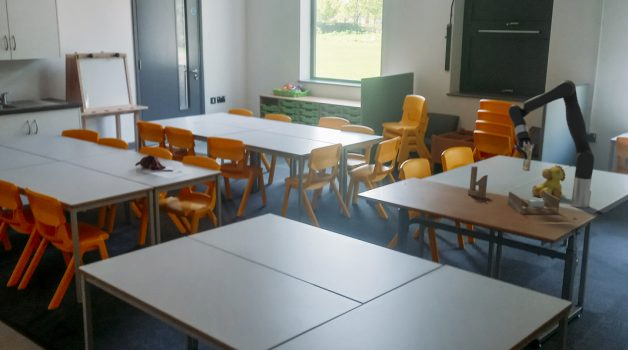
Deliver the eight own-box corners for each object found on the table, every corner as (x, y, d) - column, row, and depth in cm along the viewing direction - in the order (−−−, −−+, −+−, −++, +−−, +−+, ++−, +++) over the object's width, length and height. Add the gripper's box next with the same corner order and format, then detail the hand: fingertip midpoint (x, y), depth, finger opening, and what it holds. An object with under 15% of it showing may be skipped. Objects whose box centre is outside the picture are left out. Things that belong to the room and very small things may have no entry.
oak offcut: (541, 210, 373) (541, 205, 372) (543, 211, 370) (544, 206, 370) (527, 210, 372) (528, 205, 372) (529, 211, 369) (530, 206, 369)
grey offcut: (541, 205, 372) (542, 199, 372) (544, 206, 370) (544, 201, 369) (528, 205, 372) (528, 199, 371) (530, 206, 369) (530, 201, 368)
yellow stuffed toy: (524, 192, 418) (528, 163, 414) (556, 191, 425) (560, 162, 420) (544, 201, 399) (548, 170, 394) (577, 199, 406) (581, 168, 401)
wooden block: (482, 198, 400) (484, 169, 396) (467, 194, 408) (470, 166, 404) (485, 197, 402) (488, 168, 398) (471, 193, 410) (473, 165, 406)
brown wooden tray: (543, 206, 385) (545, 191, 383) (557, 215, 368) (559, 199, 366) (507, 206, 383) (509, 191, 381) (520, 215, 366) (521, 199, 363)
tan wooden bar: (526, 169, 386) (529, 144, 382) (529, 171, 382) (532, 145, 379) (522, 169, 386) (525, 144, 382) (525, 170, 382) (528, 145, 378)
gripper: (513, 130, 385) (519, 155, 376) (536, 130, 387) (543, 155, 378) (508, 137, 391) (515, 162, 382) (531, 138, 393) (537, 162, 384)
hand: (528, 158), depth 380 cm, fingers closed on tan wooden bar, 2 cm apart
